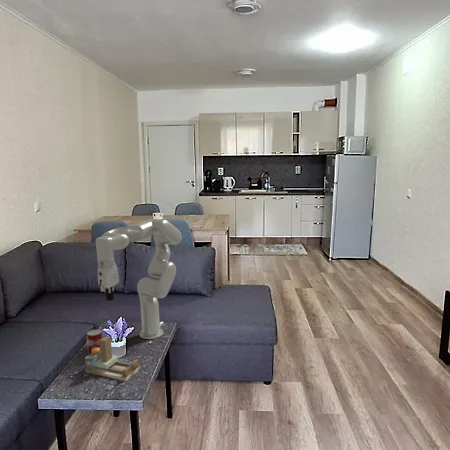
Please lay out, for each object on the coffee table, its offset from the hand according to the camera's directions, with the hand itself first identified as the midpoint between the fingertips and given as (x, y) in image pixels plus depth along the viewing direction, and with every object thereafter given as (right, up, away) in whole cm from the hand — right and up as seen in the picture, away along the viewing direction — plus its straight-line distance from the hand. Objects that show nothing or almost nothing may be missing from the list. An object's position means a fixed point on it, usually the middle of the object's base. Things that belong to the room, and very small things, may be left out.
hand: (110, 299), depth 190 cm
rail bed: (+4, -30, -9) cm, 32 cm away
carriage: (+1, -27, -8) cm, 29 cm away
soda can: (-8, -28, +6) cm, 30 cm away
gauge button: (-5, -26, -6) cm, 27 cm away
